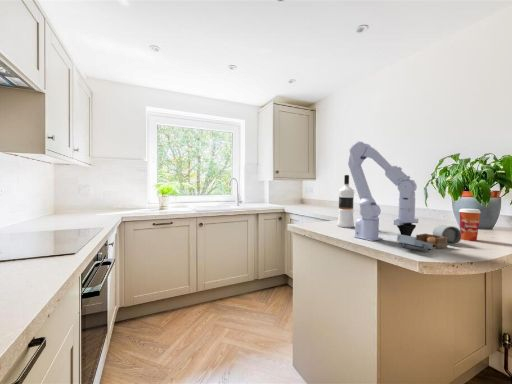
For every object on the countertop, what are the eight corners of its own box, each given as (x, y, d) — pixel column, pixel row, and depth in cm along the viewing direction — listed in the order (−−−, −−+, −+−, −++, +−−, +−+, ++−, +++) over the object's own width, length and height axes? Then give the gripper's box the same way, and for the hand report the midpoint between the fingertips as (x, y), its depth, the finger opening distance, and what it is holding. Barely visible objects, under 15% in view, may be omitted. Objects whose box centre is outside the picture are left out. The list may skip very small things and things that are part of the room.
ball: (430, 239, 102) (426, 246, 101) (427, 234, 101) (423, 241, 100) (440, 241, 99) (436, 248, 98) (437, 236, 98) (433, 243, 96)
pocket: (415, 244, 101) (416, 235, 101) (424, 242, 104) (425, 233, 104) (438, 249, 94) (438, 238, 94) (446, 247, 97) (447, 237, 97)
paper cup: (460, 240, 110) (461, 209, 110) (455, 237, 117) (456, 207, 116) (482, 242, 106) (484, 210, 106) (477, 239, 113) (478, 208, 113)
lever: (382, 238, 97) (384, 231, 97) (402, 243, 104) (403, 236, 104) (414, 245, 87) (415, 237, 87) (433, 249, 94) (434, 242, 94)
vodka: (351, 228, 136) (353, 174, 135) (335, 226, 141) (336, 174, 140) (355, 226, 143) (357, 175, 142) (339, 224, 149) (340, 175, 148)
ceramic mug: (448, 240, 109) (448, 223, 109) (461, 245, 101) (462, 226, 101) (423, 240, 110) (423, 223, 110) (434, 244, 102) (434, 226, 102)
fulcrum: (402, 247, 96) (402, 240, 96) (404, 246, 97) (405, 240, 97) (425, 252, 89) (426, 245, 89) (428, 251, 90) (428, 244, 90)
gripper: (406, 210, 94) (405, 245, 94) (426, 208, 101) (425, 241, 101) (389, 208, 100) (388, 241, 100) (408, 207, 107) (407, 238, 108)
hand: (405, 241), depth 101 cm, fingers closed
